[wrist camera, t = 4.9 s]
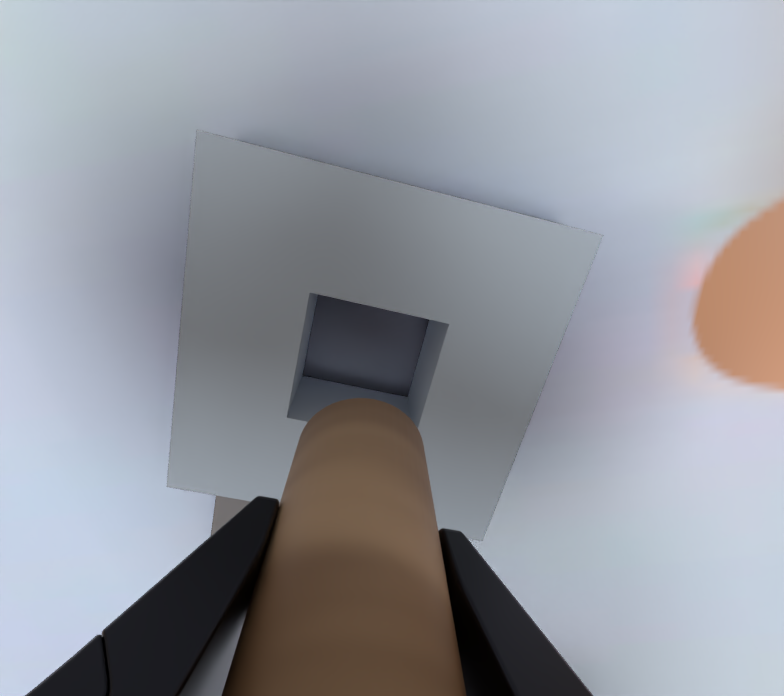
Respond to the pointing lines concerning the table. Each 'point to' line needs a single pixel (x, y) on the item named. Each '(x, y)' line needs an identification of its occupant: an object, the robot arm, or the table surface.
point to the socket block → (368, 287)
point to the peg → (352, 570)
